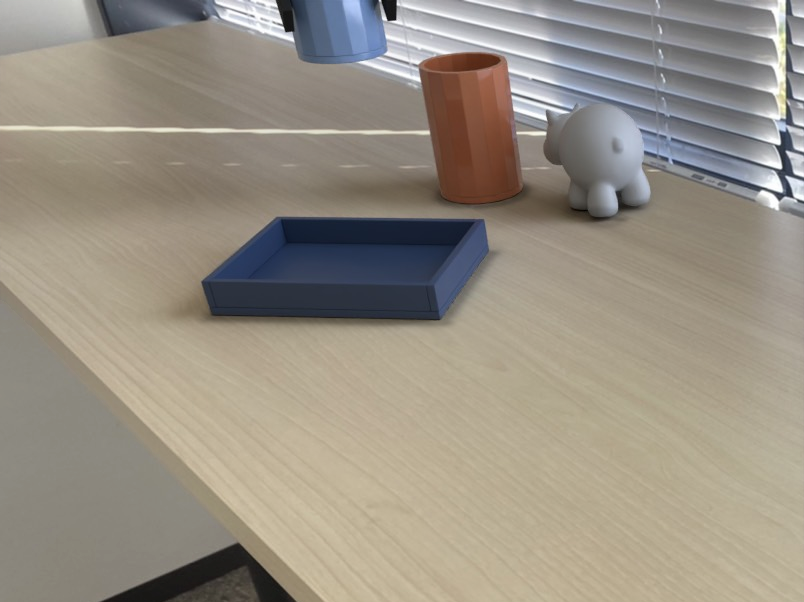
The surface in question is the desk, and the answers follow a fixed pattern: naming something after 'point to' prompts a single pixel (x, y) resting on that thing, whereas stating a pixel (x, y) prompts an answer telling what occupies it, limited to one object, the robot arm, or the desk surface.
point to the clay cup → (472, 126)
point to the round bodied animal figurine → (598, 157)
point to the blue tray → (349, 268)
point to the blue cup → (338, 30)
